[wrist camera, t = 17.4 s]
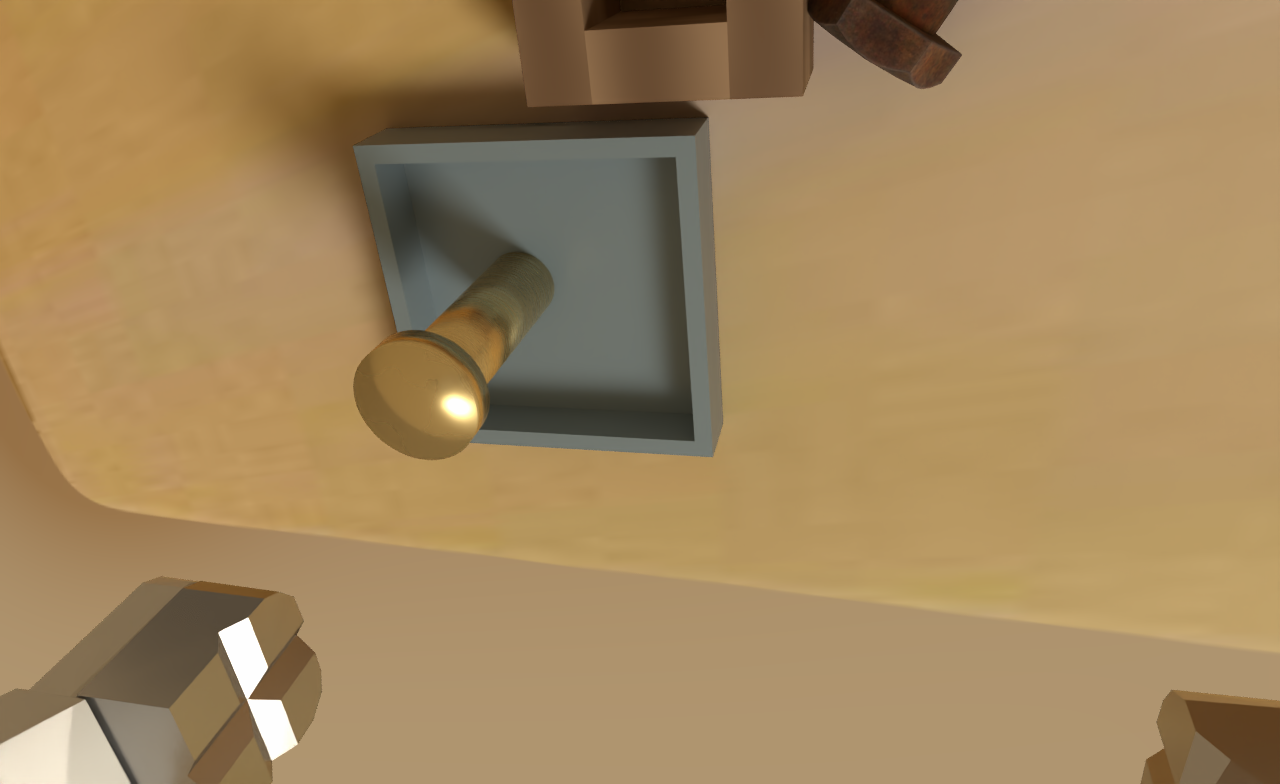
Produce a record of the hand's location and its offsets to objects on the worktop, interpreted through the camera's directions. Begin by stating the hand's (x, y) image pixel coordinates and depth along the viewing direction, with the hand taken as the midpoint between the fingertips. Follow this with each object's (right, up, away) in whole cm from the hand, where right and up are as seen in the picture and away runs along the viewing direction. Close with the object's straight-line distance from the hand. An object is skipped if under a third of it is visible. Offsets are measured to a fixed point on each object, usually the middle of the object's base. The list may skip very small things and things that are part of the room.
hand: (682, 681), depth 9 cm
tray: (-4, +8, +34) cm, 35 cm away
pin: (-6, +8, +33) cm, 35 cm away
